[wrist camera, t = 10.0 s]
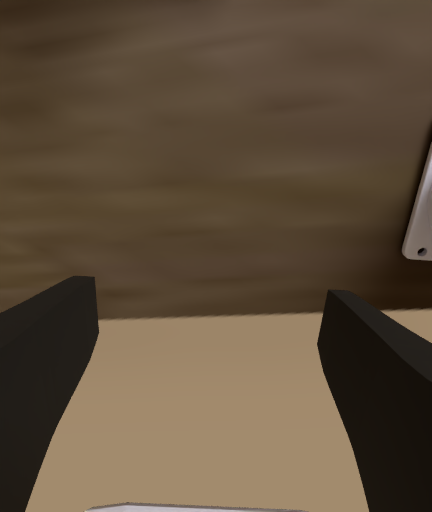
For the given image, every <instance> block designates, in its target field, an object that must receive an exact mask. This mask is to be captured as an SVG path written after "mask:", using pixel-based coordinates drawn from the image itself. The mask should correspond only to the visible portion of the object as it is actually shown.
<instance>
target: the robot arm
mask: <svg viewBox="0 0 432 512" xmlns="http://www.w3.org/2000/svg"><path fill="white" fill-rule="evenodd" d="M421 248H424V250H423V252H422V253H419V254H418V250H419V249H421ZM402 253H403V255H404V256H405V257H406V258H408V259H414V260H429V261H432V143H431V146H430V150H429V154H428V157H427V161H426V164H425V168H424V171H423V175H422V179H421V182H420V186H419V189H418V193H417V196H416V200H415V204H414V207H413V211H412V214H411V218H410V221H409V225H408V229H407V232H406V236H405V239H404V243H403V246H402ZM98 334H99V327H98V314H97V302H96V289H95V277H88V276H73V277H70V278H68V279H66V280H64V281H62V282H60V283H58V284H56V285H54V286H52V287H50V288H49V289H47V290H45V291H43V292H41V293H39V294H37V295H36V296H34V297H32V298H30V299H28V300H26V301H24V302H22V303H20V304H18V305H16V306H14V307H12V308H10V309H8V310H6V311H4V312H2V313H0V512H25V510H26V507H27V504H28V501H29V498H30V496H31V493H32V490H33V487H34V484H35V482H36V479H37V476H38V473H39V470H40V468H41V465H42V462H43V460H44V457H45V455H46V452H47V449H48V447H49V444H50V441H51V439H52V436H53V434H54V432H55V429H56V427H57V425H58V423H59V421H60V419H61V417H62V415H63V413H64V411H65V409H66V407H67V405H68V403H69V401H70V399H71V397H72V395H73V393H74V391H75V389H76V387H77V385H78V383H79V381H80V379H81V377H82V375H83V373H84V371H85V369H86V367H87V365H88V363H89V361H90V358H91V356H92V353H93V350H94V346H95V344H96V341H97V337H98ZM317 346H318V350H319V355H320V360H321V364H322V368H323V372H324V375H325V377H326V380H327V382H328V385H329V388H330V391H331V393H332V396H333V398H334V400H335V403H336V406H337V408H338V411H339V414H340V416H341V419H342V421H343V424H344V426H345V429H346V432H347V434H348V437H349V440H350V442H351V445H352V448H353V451H354V455H355V458H356V462H357V466H358V469H359V473H360V477H361V480H362V484H363V488H364V492H365V496H366V500H367V504H368V508H369V512H432V343H430V342H429V341H427V340H425V339H424V338H422V337H420V336H419V335H417V334H415V333H413V332H412V331H410V330H408V329H407V328H405V327H404V326H402V325H400V324H399V323H397V322H396V321H394V320H393V319H391V318H390V317H388V316H387V315H385V314H384V313H382V312H381V311H379V310H378V309H376V308H375V307H373V306H372V305H371V304H369V303H368V302H366V301H365V300H363V299H361V298H360V297H358V296H357V295H355V294H353V293H351V292H350V291H345V290H328V293H327V298H326V303H325V308H324V313H323V317H322V323H321V328H320V332H319V337H318V342H317ZM84 512H306V511H302V510H286V509H263V508H240V507H239V508H238V507H219V506H195V505H174V504H150V503H129V502H127V503H120V504H113V505H105V506H97V507H92V508H90V509H88V510H86V511H84Z"/></svg>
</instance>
